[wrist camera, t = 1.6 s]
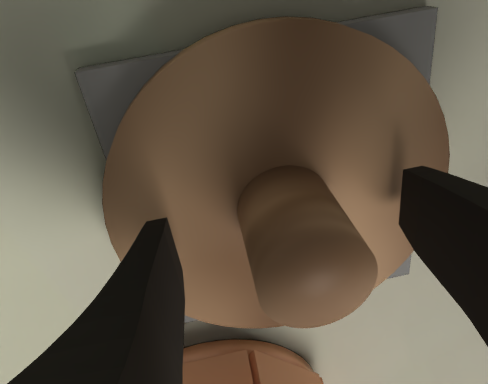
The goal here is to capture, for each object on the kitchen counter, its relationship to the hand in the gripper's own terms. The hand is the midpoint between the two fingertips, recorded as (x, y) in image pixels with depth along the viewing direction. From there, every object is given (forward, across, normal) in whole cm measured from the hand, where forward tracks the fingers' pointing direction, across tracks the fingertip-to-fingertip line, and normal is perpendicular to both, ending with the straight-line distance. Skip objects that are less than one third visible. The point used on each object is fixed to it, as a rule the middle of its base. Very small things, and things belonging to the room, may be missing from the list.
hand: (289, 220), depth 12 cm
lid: (+2, 0, 0) cm, 2 cm away
